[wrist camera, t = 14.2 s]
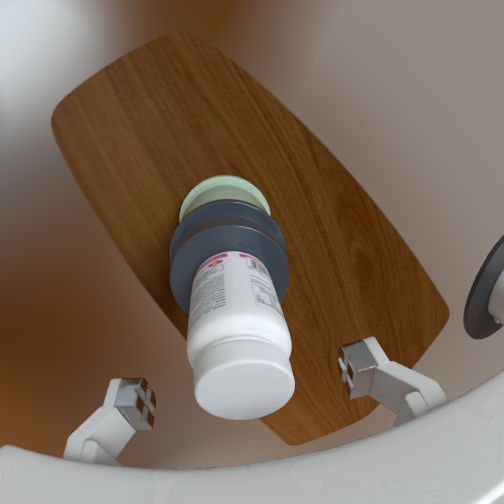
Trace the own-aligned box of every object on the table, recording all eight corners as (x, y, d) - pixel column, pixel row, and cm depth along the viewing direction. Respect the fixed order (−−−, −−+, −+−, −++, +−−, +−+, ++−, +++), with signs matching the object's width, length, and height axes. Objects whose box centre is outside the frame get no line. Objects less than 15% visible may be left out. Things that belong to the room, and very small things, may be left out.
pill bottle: (196, 316, 19) (191, 427, 11) (189, 250, 17) (172, 356, 9) (269, 313, 19) (297, 419, 12) (271, 247, 17) (312, 347, 10)
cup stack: (262, 167, 27) (293, 200, 16) (274, 251, 31) (304, 323, 20) (170, 185, 27) (140, 230, 16) (191, 266, 31) (181, 345, 20)
